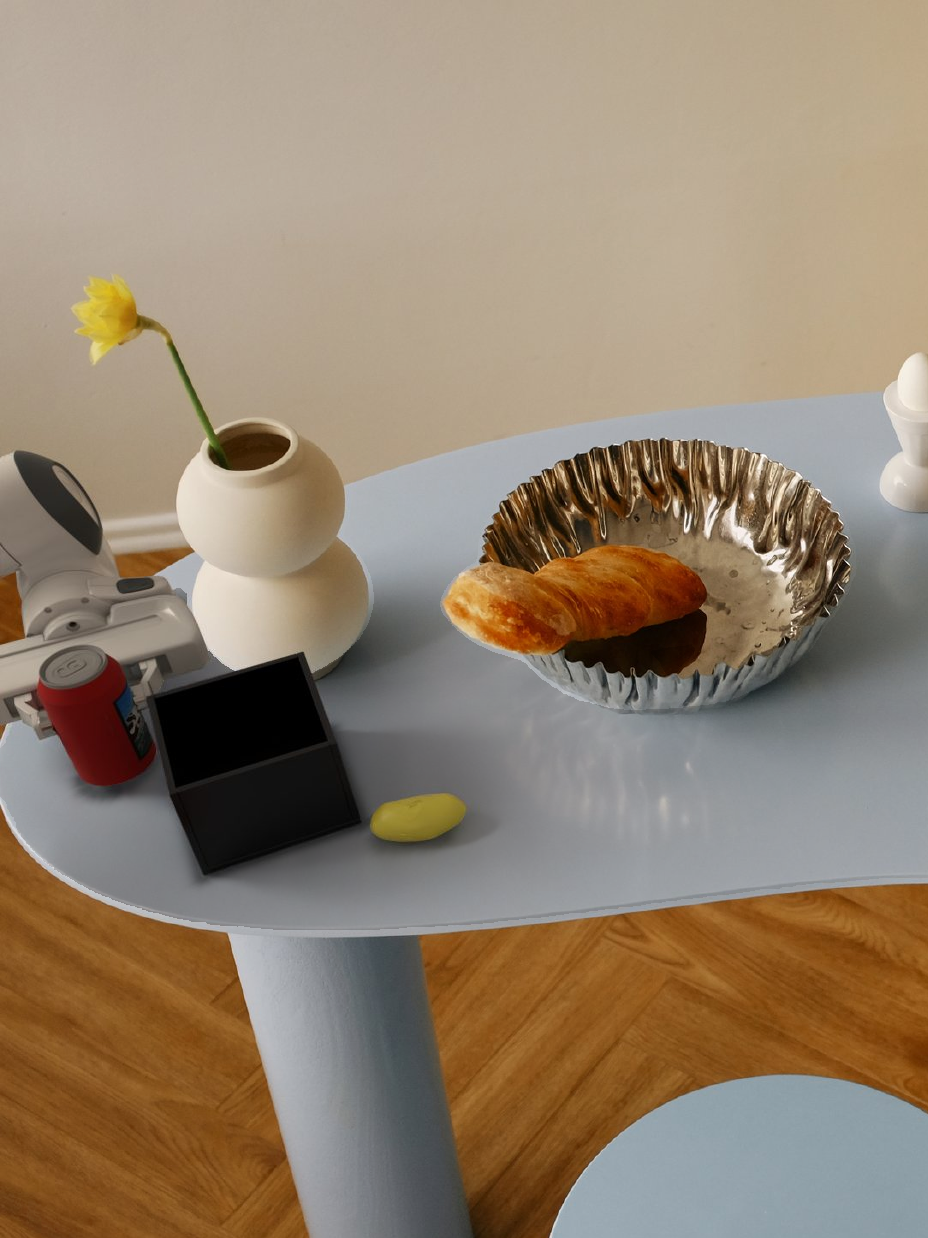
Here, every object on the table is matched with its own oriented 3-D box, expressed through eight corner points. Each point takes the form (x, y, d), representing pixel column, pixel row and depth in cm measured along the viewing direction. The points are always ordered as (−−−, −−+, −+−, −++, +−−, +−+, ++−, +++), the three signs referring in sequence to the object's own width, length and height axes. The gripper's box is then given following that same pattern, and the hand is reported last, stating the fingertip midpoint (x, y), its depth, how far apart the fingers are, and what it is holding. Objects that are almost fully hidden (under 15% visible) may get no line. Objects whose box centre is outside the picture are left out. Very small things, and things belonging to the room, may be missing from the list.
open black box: (203, 875, 125) (168, 794, 119) (179, 776, 134) (145, 696, 128) (362, 823, 130) (336, 742, 124) (328, 730, 139) (303, 650, 132)
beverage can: (175, 761, 135) (130, 660, 127) (105, 804, 131) (55, 702, 123) (134, 729, 138) (88, 628, 130) (65, 769, 134) (13, 668, 126)
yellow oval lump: (376, 821, 130) (366, 789, 127) (470, 809, 131) (462, 777, 129) (373, 856, 127) (363, 824, 124) (469, 844, 128) (461, 812, 125)
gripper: (-59, 633, 133) (-51, 727, 124) (182, 570, 140) (207, 655, 131) (-32, 686, 137) (-22, 782, 128) (201, 623, 144) (226, 709, 135)
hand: (96, 717), depth 130 cm, fingers closed on beverage can, 6 cm apart
